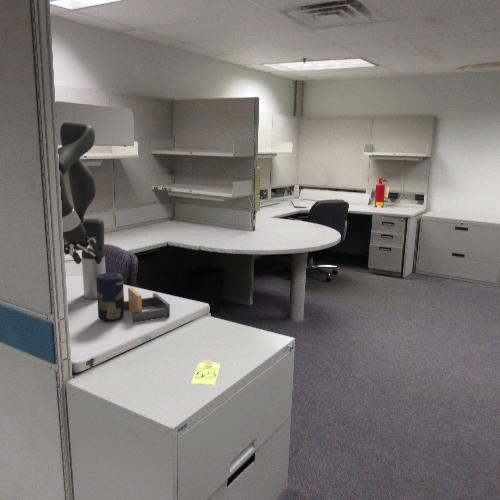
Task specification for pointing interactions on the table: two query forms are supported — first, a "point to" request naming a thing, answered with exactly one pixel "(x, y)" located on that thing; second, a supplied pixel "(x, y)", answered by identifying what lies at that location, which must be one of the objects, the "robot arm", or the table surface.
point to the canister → (110, 297)
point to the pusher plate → (134, 300)
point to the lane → (160, 312)
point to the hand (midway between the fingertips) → (89, 262)
